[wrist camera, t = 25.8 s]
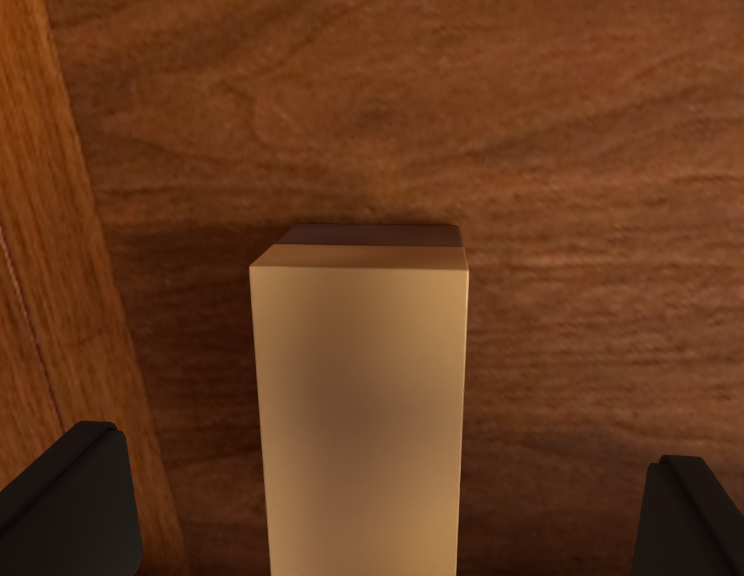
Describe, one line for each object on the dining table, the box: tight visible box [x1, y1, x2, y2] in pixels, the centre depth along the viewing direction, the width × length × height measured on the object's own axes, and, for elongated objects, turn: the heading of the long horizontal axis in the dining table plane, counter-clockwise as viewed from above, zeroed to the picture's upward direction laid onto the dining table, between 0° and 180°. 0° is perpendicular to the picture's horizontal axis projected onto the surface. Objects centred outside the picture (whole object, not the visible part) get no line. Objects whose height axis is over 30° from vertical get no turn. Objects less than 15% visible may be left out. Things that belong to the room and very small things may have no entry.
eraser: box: [249, 223, 469, 576], centre depth 15 cm, size 4×8×4 cm, turn 0°
